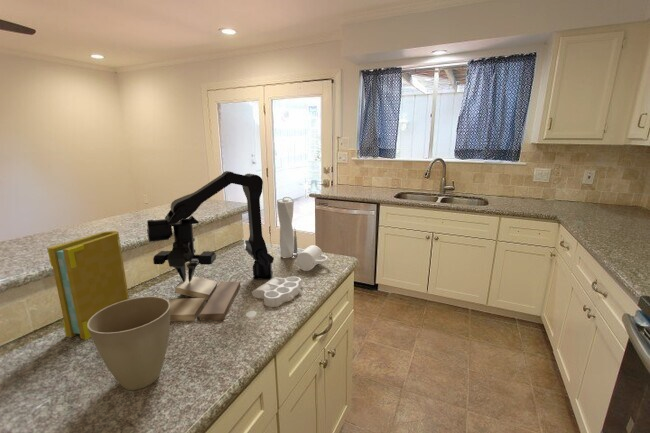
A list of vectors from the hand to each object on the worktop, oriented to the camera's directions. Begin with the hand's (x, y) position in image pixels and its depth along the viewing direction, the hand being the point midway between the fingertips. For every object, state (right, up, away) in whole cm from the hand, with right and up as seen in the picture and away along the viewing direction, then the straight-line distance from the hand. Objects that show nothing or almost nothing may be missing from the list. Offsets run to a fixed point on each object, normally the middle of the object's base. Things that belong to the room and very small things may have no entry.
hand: (187, 281), depth 107 cm
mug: (+43, +1, +24) cm, 49 cm away
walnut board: (+13, -6, -4) cm, 15 cm away
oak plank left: (+3, -7, -10) cm, 13 cm away
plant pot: (+6, -14, -38) cm, 41 cm away
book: (-18, -9, -15) cm, 25 cm away
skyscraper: (+30, +4, +37) cm, 48 cm away
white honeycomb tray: (+31, -5, +1) cm, 32 cm away
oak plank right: (+3, -3, +1) cm, 4 cm away
